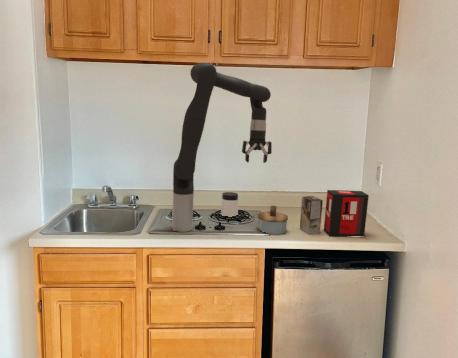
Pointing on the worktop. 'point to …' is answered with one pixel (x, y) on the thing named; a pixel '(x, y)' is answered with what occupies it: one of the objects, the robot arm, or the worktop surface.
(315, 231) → the coffee box
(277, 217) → the lid
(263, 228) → the bowl
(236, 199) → the jar
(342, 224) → the cleaning product box
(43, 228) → the worktop surface
